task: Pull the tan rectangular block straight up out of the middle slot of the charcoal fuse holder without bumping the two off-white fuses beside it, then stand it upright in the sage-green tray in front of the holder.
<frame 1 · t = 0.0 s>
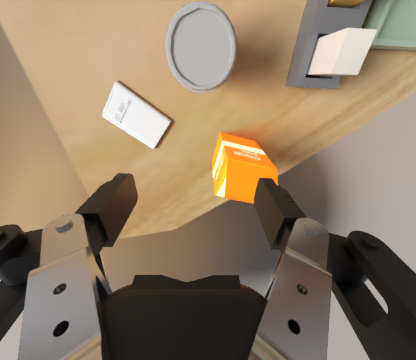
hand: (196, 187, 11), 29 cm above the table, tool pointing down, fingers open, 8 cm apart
external hard drive: (138, 117, 37), on the table
orange juice: (232, 150, 41), on the table
fuse 1: (312, 59, 31), resting in fuse holder
disposable coffee cup: (202, 60, 31), on the table
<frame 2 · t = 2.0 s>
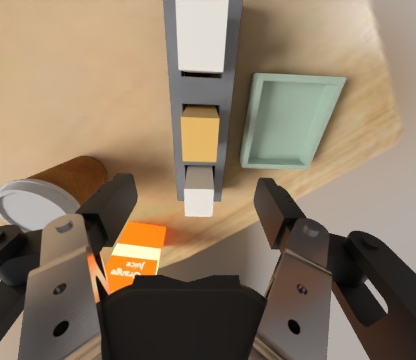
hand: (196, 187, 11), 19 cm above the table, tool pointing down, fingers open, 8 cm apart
fuse holder: (201, 120, 26), on the table
tray: (279, 124, 27), on the table
tan rectangular block: (200, 129, 22), in the fuse holder
fuse 2: (202, 50, 22), resting in fuse holder
orange juice: (147, 233, 41), on the table
fuse 1: (200, 169, 31), resting in fuse holder
disposable coffee cup: (90, 170, 31), on the table
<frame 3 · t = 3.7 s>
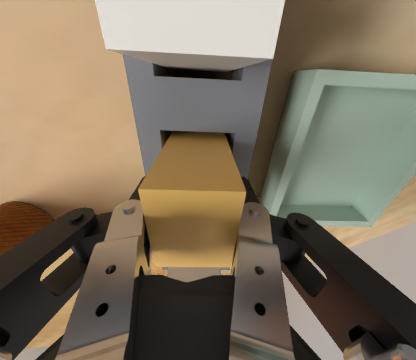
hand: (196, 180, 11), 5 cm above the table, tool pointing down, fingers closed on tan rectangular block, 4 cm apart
fuse holder: (198, 151, 16), on the table
tray: (328, 155, 16), on the table
tan rectangular block: (197, 178, 12), in the fuse holder, touching gripper
fuse 2: (200, 26, 11), resting in fuse holder
fuse 1: (197, 218, 21), resting in fuse holder
disposable coffee cup: (30, 219, 20), on the table
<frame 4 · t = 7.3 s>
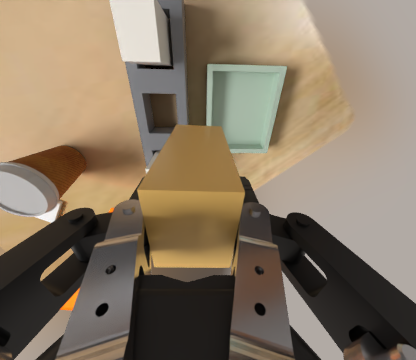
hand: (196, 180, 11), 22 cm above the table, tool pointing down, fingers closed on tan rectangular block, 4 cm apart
fuse holder: (166, 110, 29), on the table
external hard drive: (33, 199, 40), on the table
tray: (238, 111, 30), on the table
tan rectangular block: (196, 178, 12), point 22 cm above the table, touching gripper
fuse 2: (159, 45, 24), resting in fuse holder
disposable coffee cup: (70, 159, 34), on the table
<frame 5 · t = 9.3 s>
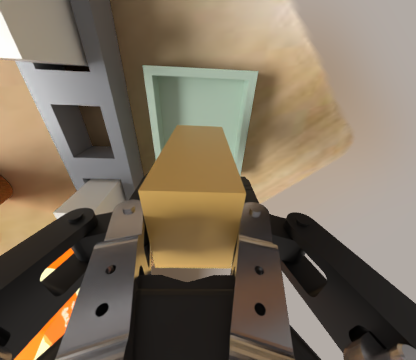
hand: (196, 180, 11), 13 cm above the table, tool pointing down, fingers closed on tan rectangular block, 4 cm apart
fuse holder: (103, 125, 22), on the table
tray: (200, 128, 22), on the table
tan rectangular block: (197, 178, 12), point 13 cm above the table, touching gripper
fuse 2: (78, 37, 17), resting in fuse holder
orange juice: (82, 250, 36), on the table
fuse 1: (120, 181, 27), resting in fuse holder
when the fingers open (7 cm above the table, at t = 10.7 s): tan rectangular block drops 2 cm, resting on tray.
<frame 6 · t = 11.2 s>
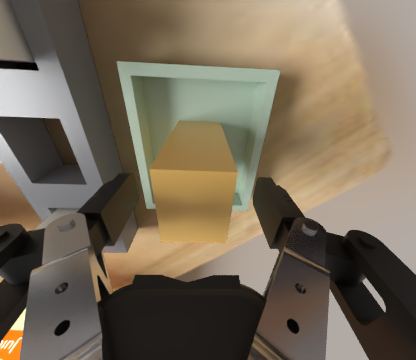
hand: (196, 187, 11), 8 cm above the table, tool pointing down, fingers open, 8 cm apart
fuse holder: (76, 139, 17), on the table
tray: (199, 143, 18), on the table
tan rectangular block: (197, 168, 13), in the tray, point 6 cm above the table
fuse 2: (31, 23, 12), resting in fuse holder
orange juice: (63, 277, 32), on the table
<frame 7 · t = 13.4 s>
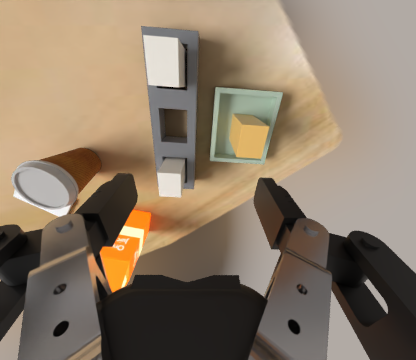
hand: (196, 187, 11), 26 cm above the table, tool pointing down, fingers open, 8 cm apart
fuse holder: (177, 122, 33), on the table
external hard drive: (48, 195, 43), on the table
tray: (240, 126, 34), on the table
tan rectangular block: (245, 133, 29), in the tray, point 6 cm above the table
fuse 2: (175, 69, 29), resting in fuse holder
orange juice: (134, 219, 47), on the table
fuse 1: (178, 162, 38), resting in fuse holder
disposable coffee cup: (87, 160, 38), on the table
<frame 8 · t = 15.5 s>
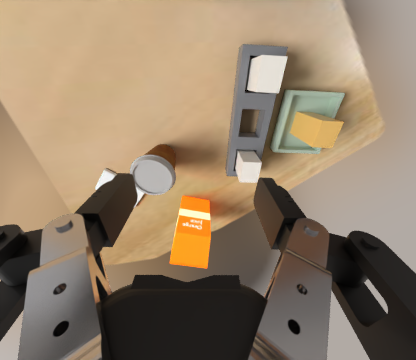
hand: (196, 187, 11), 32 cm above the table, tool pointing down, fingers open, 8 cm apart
fuse holder: (247, 120, 39), on the table
external hard drive: (122, 187, 50), on the table
tray: (299, 122, 40), on the table
tan rectangular block: (312, 128, 35), in the tray, point 6 cm above the table
fuse 2: (254, 75, 35), resting in fuse holder
orange juice: (193, 206, 54), on the table
fuse 1: (241, 154, 44), resting in fuse holder
disposable coffee cup: (164, 155, 44), on the table
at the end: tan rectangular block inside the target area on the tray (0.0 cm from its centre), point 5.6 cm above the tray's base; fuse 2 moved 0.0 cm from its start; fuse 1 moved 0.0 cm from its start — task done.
